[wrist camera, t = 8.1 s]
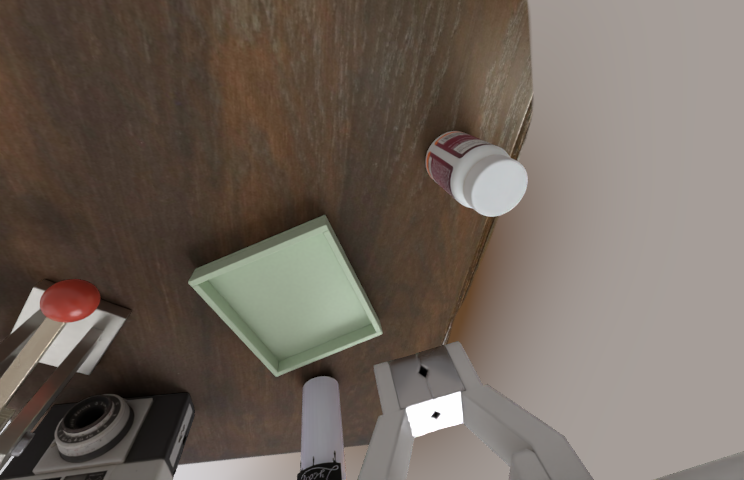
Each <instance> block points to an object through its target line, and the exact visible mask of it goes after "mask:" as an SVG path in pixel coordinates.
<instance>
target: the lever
mask: <svg viewBox="0 0 744 480" xmlns="http://www.w3.org/2000/svg"><path fill="white" fill-rule="evenodd" d="M100 298H101V297H100V292H99V290H98V289H97V287H96V286H95V285H93V284H92V283H90V282H88V281H85V280H81V279H68V280H63V281H60V282H57V283H55V284H53V285H52V286H50V287H49V288H48V289H47V290H46V291H45V292H44V293H43V295H42V296H41V299H40V309H41V311H42V313H43V314H44V315H45V316H46V318H45V320H44V321H43V322H42V324H41V325H40V326H39V328H38V329H37V330H36V332H35V333H34V334H33V336H32V337H31V338H30V340H29V341H28V342H27V344H26V345H25V346H24V348H23V349H22V350H21V352H20V353H19V354H18V356H17V357H16V358H15V360H14V361H13V362H12V364H11V365H10V366H9V368H8V369H7V370H6V372H5V373H4V374H3V376H2V377H1V378H0V432H1V431H2V429H3V428H4V427H5V425H6V424H7V422H8V421H9V420H10V418H11V417H12V416H13V414H14V413H15V411H16V410H12V409H7V408H5V407H6V406H7V405H8V403H9V402H10V401H11V399H12V398H13V397H14V395H15V394H16V392H17V391H18V390H19V388H20V387H21V386H22V384H23V383H24V381H25V380H26V379H27V377H28V376H29V375H30V373H31V372H32V371H33V369H34V368H35V366H36V365H37V364H38V362H39V361H40V360H41V358H42V357H43V355H44V354H45V353H46V351H47V350H48V349H49V347H50V346H51V345H52V343H53V342H54V340H55V339H56V338H57V336H58V335H59V334H60V332H61V331H62V329H63V328H64V327H65V325H66V324H67V323H70V322H76V321H79V320H82V319H84V318H86V317H88V316H90V315H91V314H92V313H93V312H94V311H95V310H96V309H97V307H98V306H99V303H100Z"/></svg>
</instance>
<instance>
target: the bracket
mask: <svg viewBox="0 0 744 480" xmlns="http://www.w3.org/2000/svg"><path fill="white" fill-rule="evenodd" d="M53 284H55V283H54V282H51V281H49V280H46V279H43V280H42V281H40V282H39V283H38V284H36V285H35V286H34V287H33V289H32V291H31V293H30V295H29V297H28V299H27V301H26V303H25V305H24V307H23V309H22V311H21V313H20V315H19V317H18V319H17V321H16V323H15V326H14V328H13V330H12V332H11V334H10V335H9V336H8V337H7V338H6V339H5V340H4V341H3V342H2V343H0V378H1V377H2V376H3V374H4V373H5V372H6V370H7V369H8V368H9V366H10V365H11V364H12V362H13V361H14V360H15V358H16V357H17V356H18V354H19V353H20V352H21V350H22V349H23V348H24V346H25V345H26V344H27V342H28V341H29V340H30V338H31V337H32V336H33V334H34V333H35V332H36V330H37V329H38V328H39V326H40V325H41V324H42V322H43V321H44V320H45V318H46V316H45V315H44V314H43V313H42V311H41V309H40V299H41V296H42V295H43V293H44V292H45V291H46V290H47V289H48V288H49V287H50V286H52V285H53ZM131 312H132V311H131V310H129V309H126V308H123V307H120V306H118V305H115V304H112V303H109V302H107V301H104V300H101V299H100V303H99V306H98V307H97V309H96V310H95V311H94V312H93V313H92V314H91V315H90V316H88V317H86V318H84V319H82V320H79V321H76V322H70V323H67V324H66V325H65V327H64V328H63V329H62V331H61V332H60V334H59V335H58V336H57V338H56V339H55V340H54V342H53V343H52V345H51V346H50V347H49V349H48V350H47V351H46V353H45V354H44V355H43V357H42V358H41V360H40V361H39V362H40V363H44V364H48V365H52V366H56V367H57V369H56V370H55V371H54V372H53V373H52V375H51V376H50V377H49V378H48V379H47V380H46V382H45V383H44V384H43V385H42V386H41V387H40V389H39V390H38V391H37V392H36V393H35V395H34V396H33V397H32V398H31V399H30V400H29V402H28V403H27V404H26V405H25V406H24V407H23V409H22V410H21V411H20V412H19V413H18V415H17V416H16V417H15V418H14V419H13V420H12V422H11V423H10V424H9V425H8V426H7V428H6V429H5V430H4V431H3V432H2V433H1V435H0V470H1V469H2V467H3V466H4V465H5V463H6V462H7V461H8V460H9V458H10V457H11V456H17V457H18V456H20V454H21V453H22V452H23V451H24V449H25V448H26V447H27V445H28V444H29V443H30V441H31V440H32V438H33V437H34V435H35V433H31V432H30V431H31V430H32V429H33V427H34V426H35V425H36V424H37V422H38V421H39V420H40V418H41V417H42V416H43V415H44V413H45V412H46V411H47V409H48V408H49V407H50V405H51V404H52V403H53V402H54V400H55V399H56V398H57V396H58V395H59V394H60V393H61V391H62V390H63V389H64V387H65V386H66V385H67V384H68V382H69V381H70V380H71V378H72V377H73V376H74V375H75V373H76V372H79V373H83V374H86V375H90V374H91V373H92V372H93V370H94V369H95V367H96V366H97V365H98V363H99V361H100V360H101V358H102V357H103V355H104V354H105V352H106V351H107V349H108V348H109V346H110V345H111V343H112V341H113V340H114V338H115V337H116V335H117V334H118V332H119V331H120V329H121V328H122V326H123V324H124V323H125V321H126V320H127V318H128V317H129V315H130V314H131Z"/></svg>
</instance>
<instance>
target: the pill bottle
mask: <svg viewBox="0 0 744 480" xmlns="http://www.w3.org/2000/svg"><path fill="white" fill-rule="evenodd" d="M426 169H427V172H428V174H429V175H430V177H431V178H432V179H433V180H434V181H435V182H436V183H438V184H439V185H440V186H441V187H442V188H443V189H444V190H446V191H447V192H448V193H449V194H450V195H451V196H452V197H453V198H454V199H455V200H457V201H458V202H459V203H460V204H462V205H464V206H466V207H469V208H473V209H475V210H476V211H477V212H478V213H480V214H482V215H485V216H490V217H493V216H499V215H502V214H504V213H507V212H508V211H510V210H511V209H513V208H514V207H515V206H516V205H517V204H518V203H519V202H520V200H521V199H522V197H523V195H524V193H525V191H526V188H527V183H528V177H527V172H526V170H525V168H524V167H523V165H522V164H520V163H519V162H518V161H516V160H514V159H512V158H510V156H509V155H508V154H507V152H506V151H505V150H504V149H502V148H501V147H499V146H497V145H493V144H491V143H488V142H486V141H483V140H481V139H478V138H476V137H473V136H471V135H468V134H466V133H463V132H460V131H450V132H446V133H444V134H442V135H440V136H439V137H438V138H436V139H435V141H434V142H433V143H432V144H431V146H430V147H429V149H428V151H427V154H426Z"/></svg>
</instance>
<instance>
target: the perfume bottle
mask: <svg viewBox="0 0 744 480" xmlns="http://www.w3.org/2000/svg"><path fill="white" fill-rule="evenodd" d="M300 464H301V465H300V466H301V469H300V470H301V471H300V473H299V474H298V475H297V480H347V479H346V467H345V455H344V444H343V432H342V420H341V409H340V397H339V385H338V382H337V381H336V380H335V379H334V378H331V377H328V376H320V377H315V378H312V379H310V380H309V381H307V382H306V383H305V384H304V386H303V396H302V432H301V463H300Z"/></svg>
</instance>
